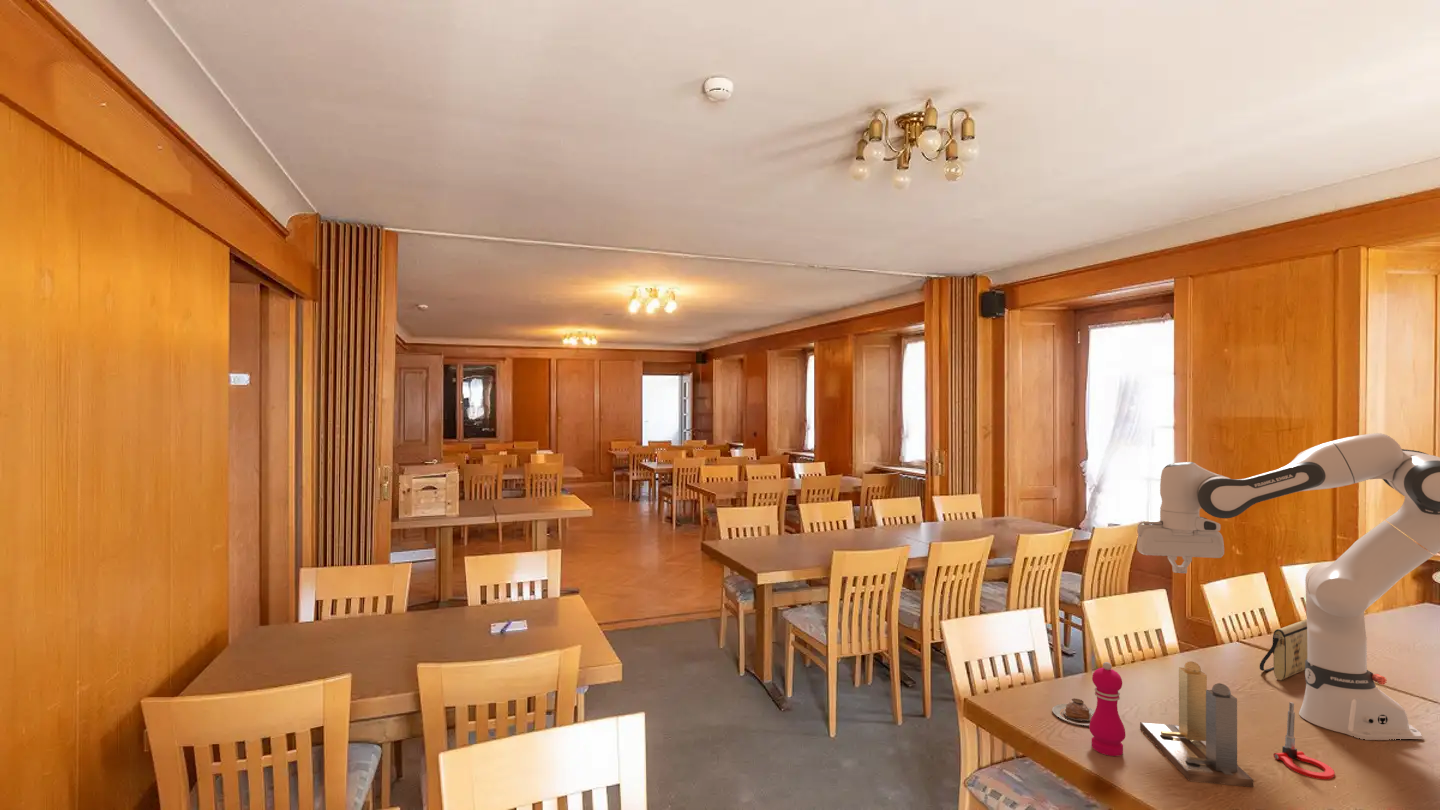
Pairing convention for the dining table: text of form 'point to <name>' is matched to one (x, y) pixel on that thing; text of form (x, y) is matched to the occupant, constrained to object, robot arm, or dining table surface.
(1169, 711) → the dining table surface
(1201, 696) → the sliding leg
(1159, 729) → the bolt strip
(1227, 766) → the fixed leg
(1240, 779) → the walnut board
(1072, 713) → the pastry
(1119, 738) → the pepper mill
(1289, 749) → the tow hook
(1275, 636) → the clutch purse
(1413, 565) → the robot arm
